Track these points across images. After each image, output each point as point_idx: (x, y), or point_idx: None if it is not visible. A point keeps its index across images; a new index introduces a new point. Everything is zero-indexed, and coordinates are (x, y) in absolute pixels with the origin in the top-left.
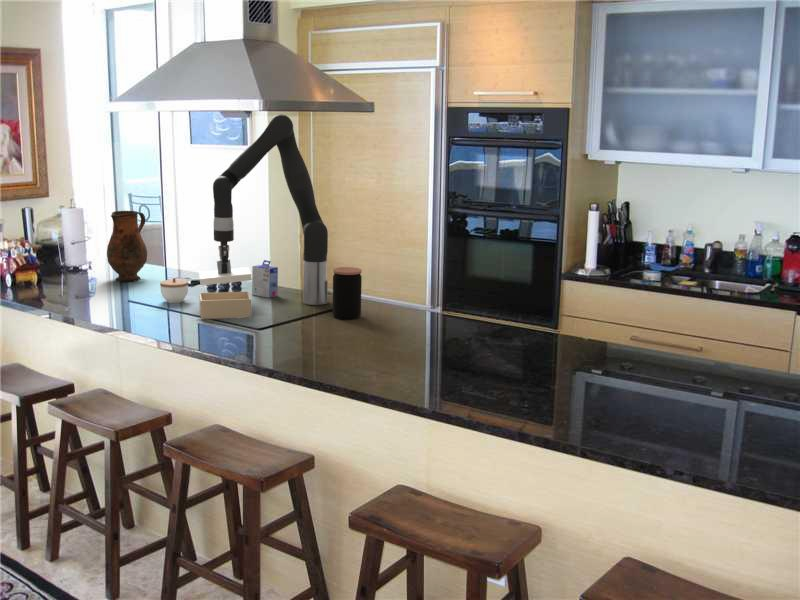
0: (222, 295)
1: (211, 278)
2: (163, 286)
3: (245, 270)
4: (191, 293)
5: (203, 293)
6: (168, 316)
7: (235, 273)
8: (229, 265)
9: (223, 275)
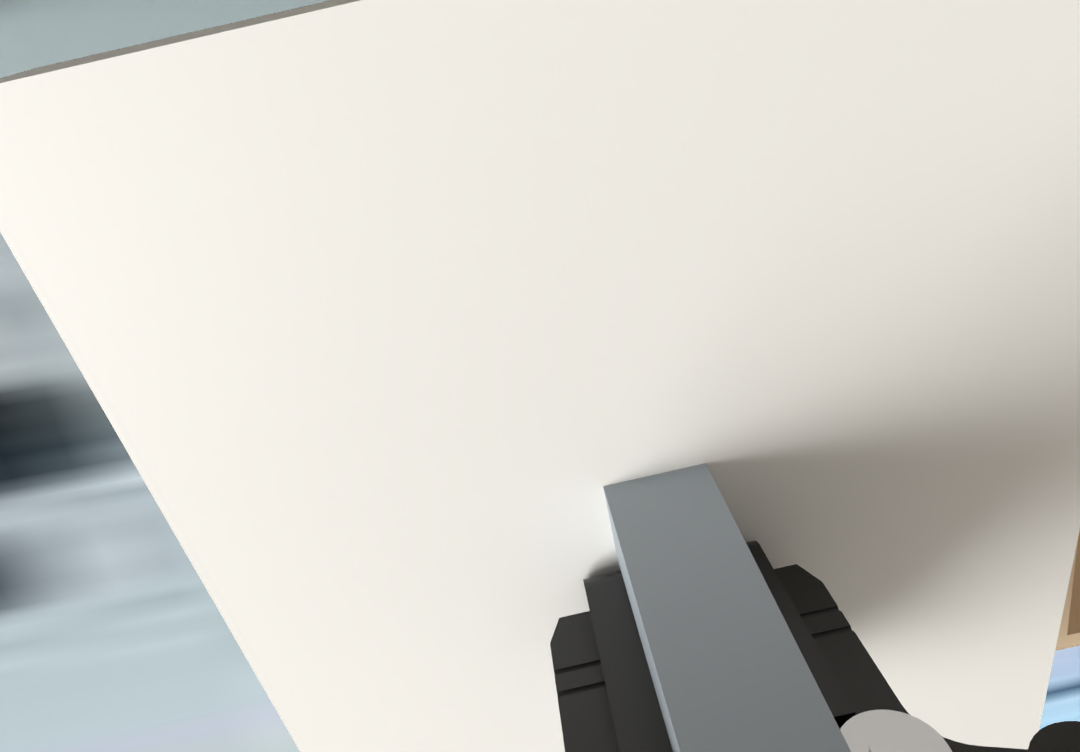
0: None
1: (1038, 693)
2: None
3: (554, 105)
4: (121, 740)
5: (1064, 606)
6: (1061, 691)
7: (870, 344)
8: (779, 626)
9: (953, 559)
